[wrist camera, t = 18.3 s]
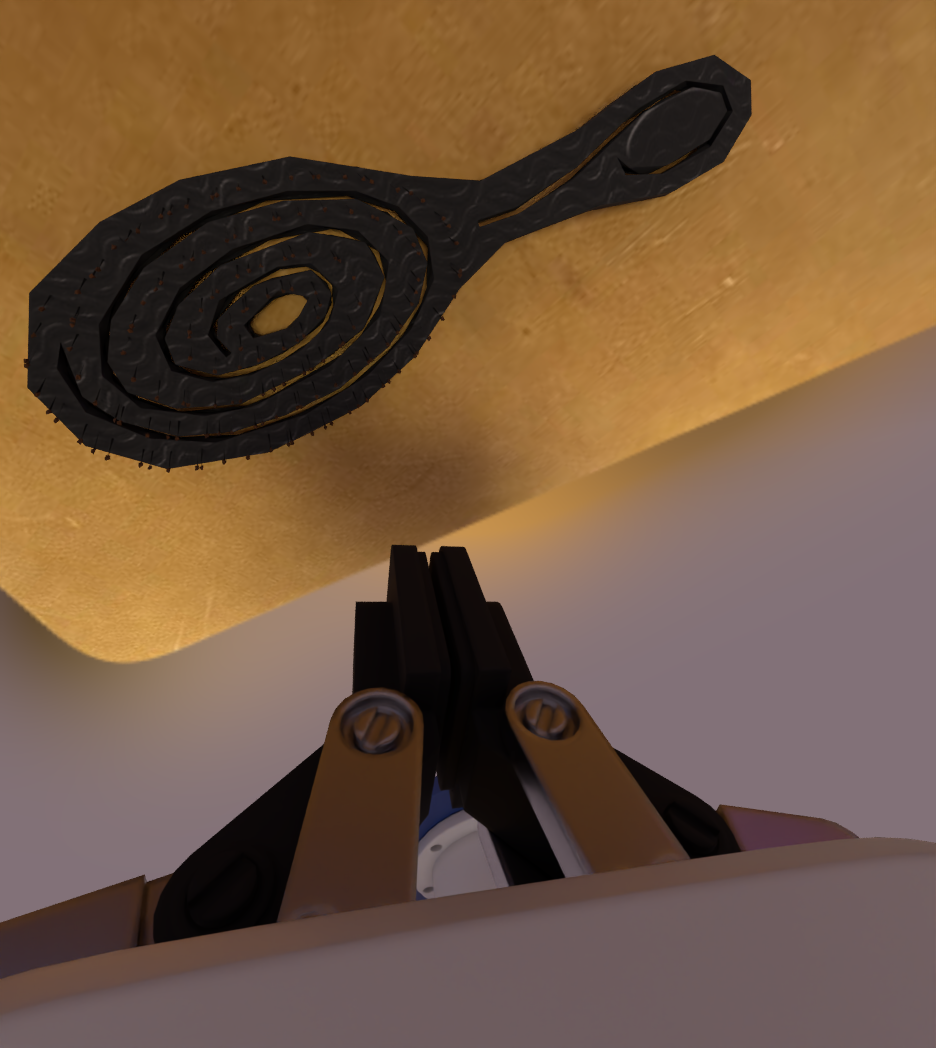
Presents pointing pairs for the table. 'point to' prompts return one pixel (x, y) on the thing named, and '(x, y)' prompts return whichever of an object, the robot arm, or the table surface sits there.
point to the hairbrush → (349, 265)
